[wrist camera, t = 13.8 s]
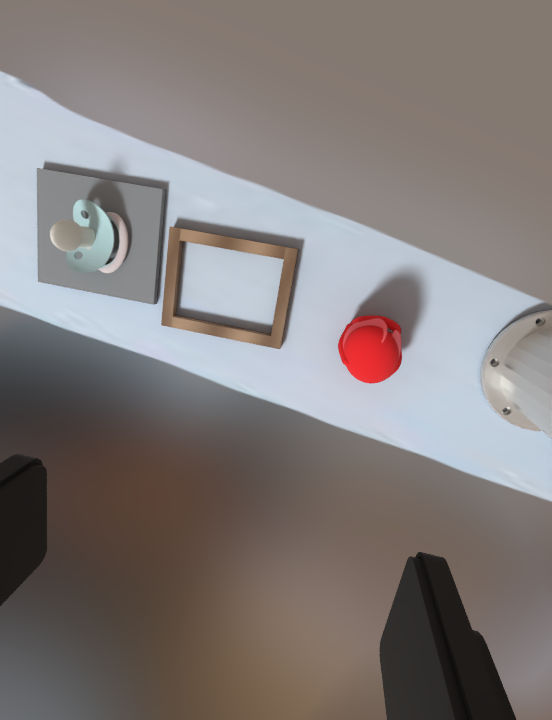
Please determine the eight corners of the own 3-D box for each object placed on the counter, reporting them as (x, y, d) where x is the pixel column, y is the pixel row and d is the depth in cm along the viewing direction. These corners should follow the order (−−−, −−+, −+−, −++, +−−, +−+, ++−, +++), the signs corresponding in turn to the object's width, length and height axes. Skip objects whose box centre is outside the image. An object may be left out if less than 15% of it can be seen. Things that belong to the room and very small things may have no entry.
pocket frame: (298, 249, 39) (297, 249, 38) (281, 347, 42) (279, 349, 41) (173, 227, 41) (169, 226, 40) (165, 323, 44) (161, 325, 43)
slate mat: (165, 190, 40) (162, 189, 39) (156, 303, 43) (153, 304, 42) (42, 169, 41) (36, 167, 40) (43, 281, 44) (38, 281, 44)
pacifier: (137, 215, 40) (84, 197, 40) (105, 209, 34) (42, 187, 34) (123, 282, 42) (73, 264, 42) (91, 287, 36) (32, 266, 36)
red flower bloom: (340, 303, 37) (324, 360, 36) (403, 309, 34) (389, 371, 33) (354, 335, 44) (342, 384, 43) (408, 343, 41) (396, 395, 40)
